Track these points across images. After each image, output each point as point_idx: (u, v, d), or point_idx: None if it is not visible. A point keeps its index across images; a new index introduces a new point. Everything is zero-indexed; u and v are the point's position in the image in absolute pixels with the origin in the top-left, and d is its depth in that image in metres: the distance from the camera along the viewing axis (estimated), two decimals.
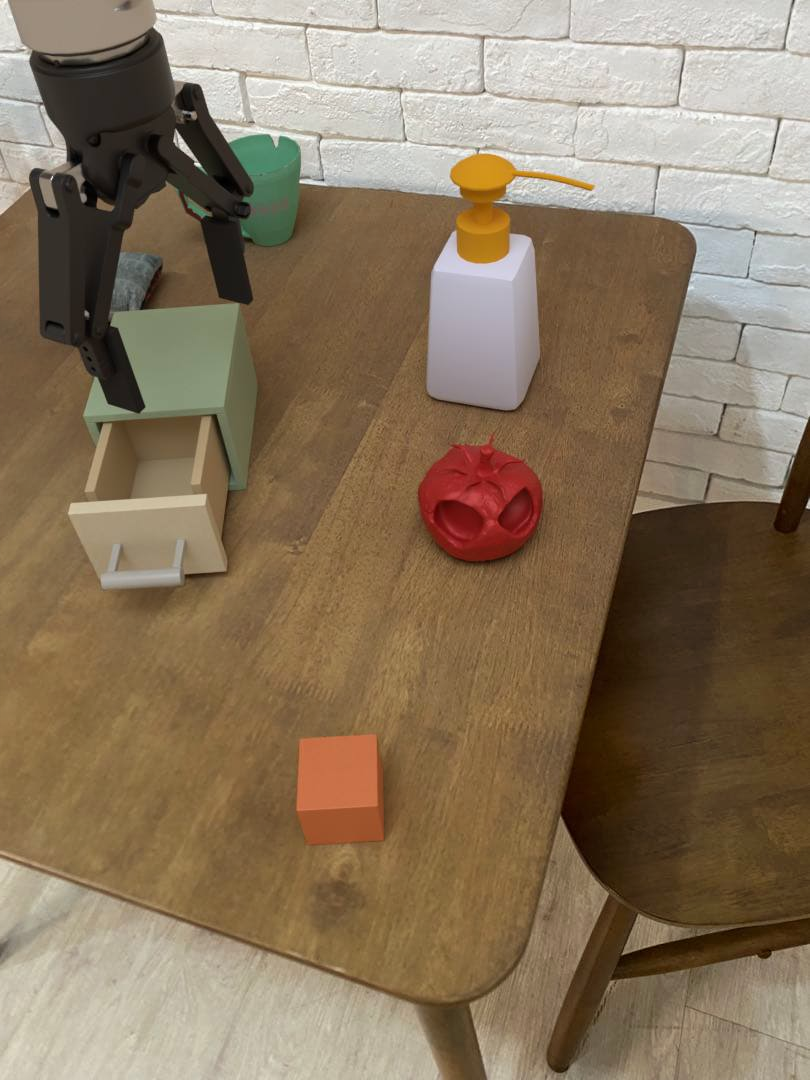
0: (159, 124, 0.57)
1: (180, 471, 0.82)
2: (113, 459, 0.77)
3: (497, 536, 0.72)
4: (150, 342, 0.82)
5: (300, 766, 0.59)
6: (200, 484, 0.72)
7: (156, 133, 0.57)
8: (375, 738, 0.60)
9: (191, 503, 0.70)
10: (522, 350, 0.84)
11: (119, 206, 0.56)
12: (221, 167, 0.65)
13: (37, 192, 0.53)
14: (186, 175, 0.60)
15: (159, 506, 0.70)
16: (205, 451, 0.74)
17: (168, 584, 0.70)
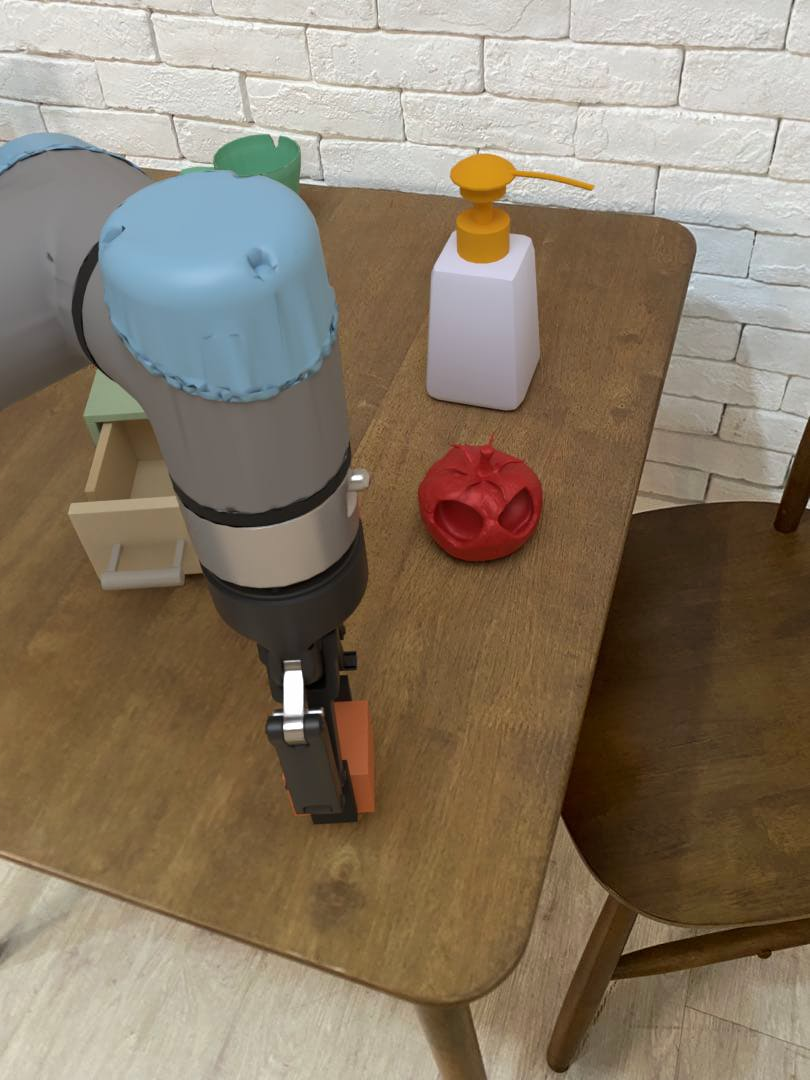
0: None
1: None
2: (113, 459, 0.77)
3: (497, 536, 0.72)
4: None
5: None
6: None
7: None
8: (366, 704, 0.57)
9: None
10: (522, 350, 0.84)
11: (334, 682, 0.47)
12: None
13: (280, 743, 0.43)
14: (340, 626, 0.50)
15: (159, 506, 0.70)
16: None
17: (168, 584, 0.70)
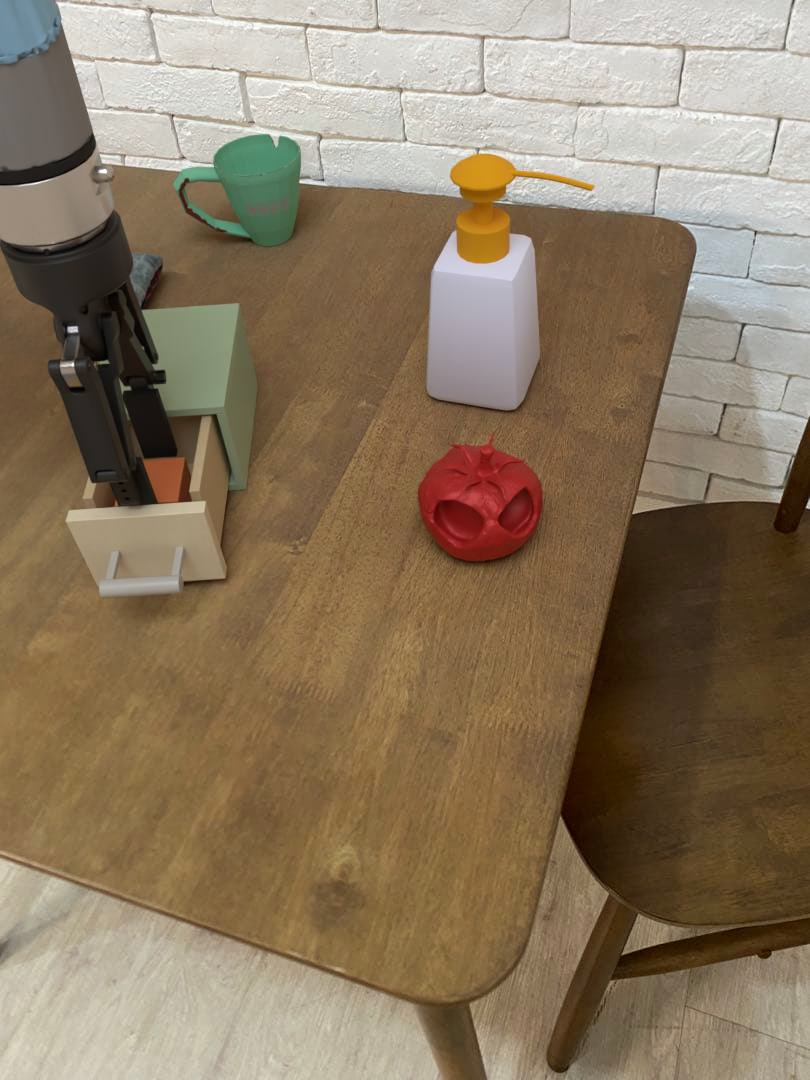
0: None
1: None
2: None
3: (497, 536, 0.72)
4: None
5: None
6: (199, 491, 0.71)
7: None
8: (183, 459, 0.76)
9: (190, 510, 0.69)
10: (522, 350, 0.84)
11: (114, 361, 0.63)
12: (137, 333, 0.71)
13: (59, 381, 0.59)
14: (132, 331, 0.66)
15: (158, 513, 0.70)
16: (204, 457, 0.74)
17: (167, 592, 0.70)
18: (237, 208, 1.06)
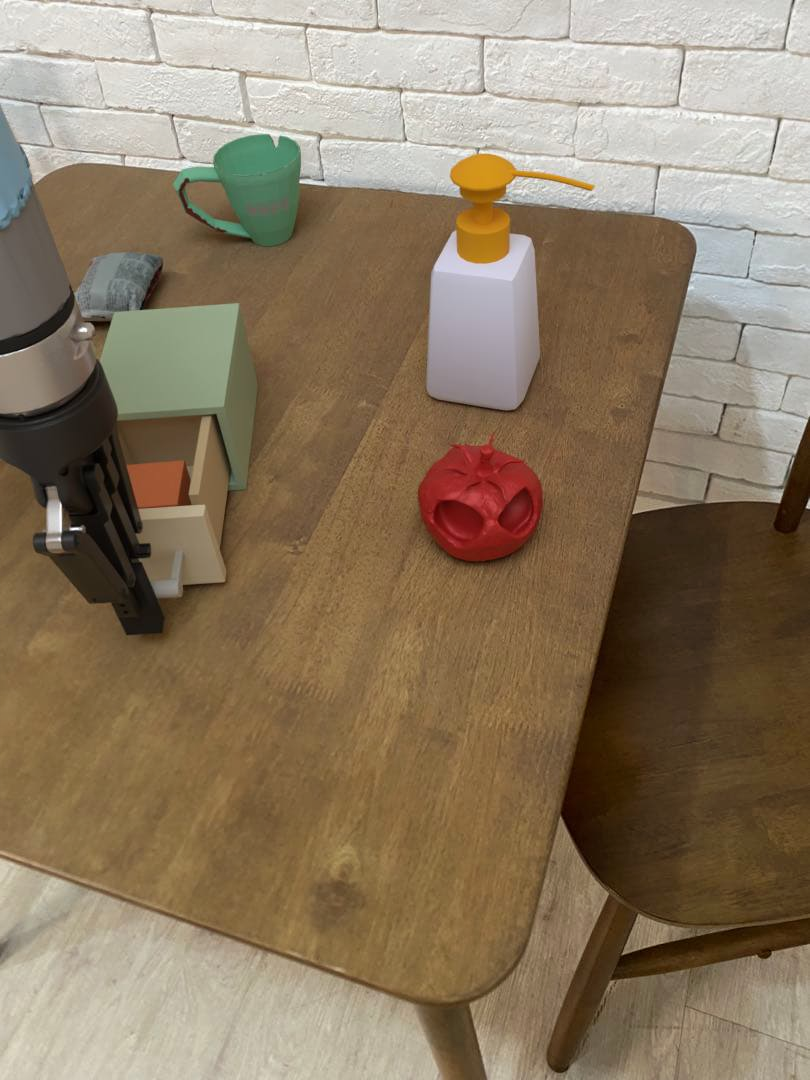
0: None
1: None
2: None
3: (497, 536, 0.72)
4: (150, 342, 0.82)
5: None
6: (198, 494, 0.71)
7: None
8: (182, 463, 0.76)
9: (190, 513, 0.69)
10: (522, 350, 0.84)
11: (103, 509, 0.59)
12: (120, 495, 0.65)
13: (47, 553, 0.55)
14: (115, 485, 0.61)
15: (157, 517, 0.69)
16: (203, 461, 0.73)
17: (166, 596, 0.69)
18: (237, 208, 1.06)
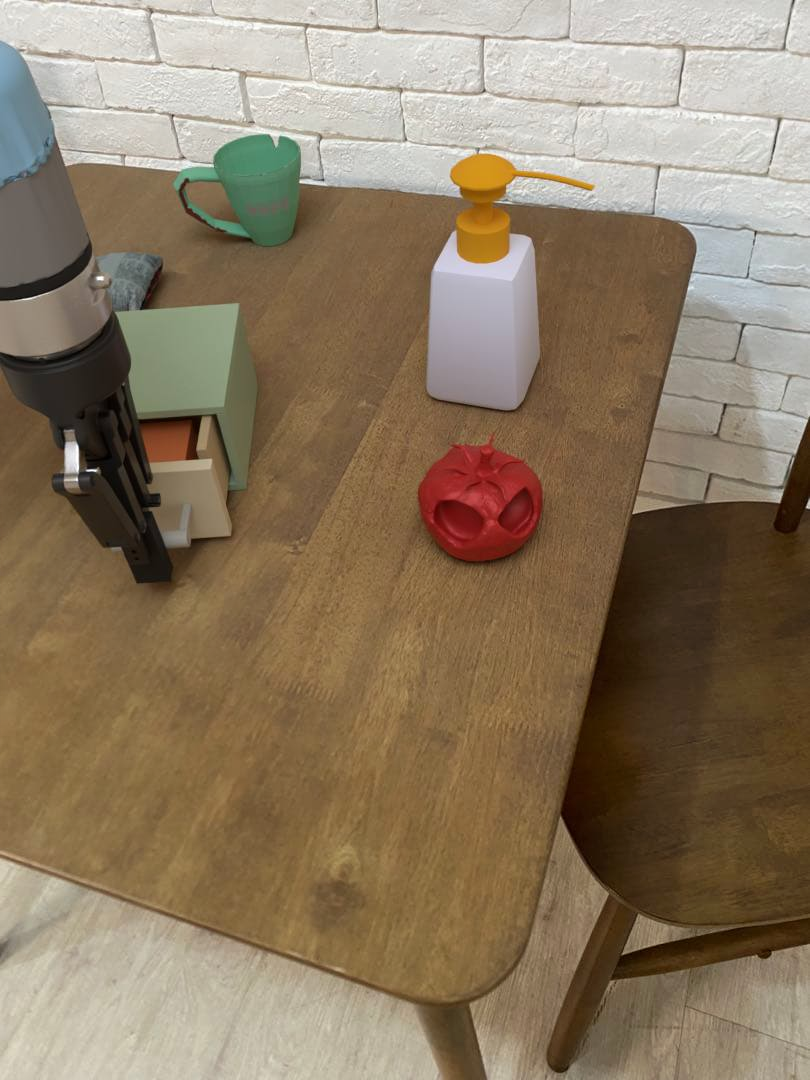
0: None
1: None
2: None
3: (497, 536, 0.72)
4: (150, 342, 0.82)
5: None
6: (205, 450, 0.74)
7: None
8: (190, 422, 0.79)
9: (197, 467, 0.73)
10: (522, 350, 0.84)
11: (117, 455, 0.62)
12: (131, 446, 0.68)
13: (65, 493, 0.59)
14: (127, 434, 0.64)
15: (166, 470, 0.73)
16: (210, 419, 0.77)
17: (175, 546, 0.73)
18: (237, 208, 1.06)
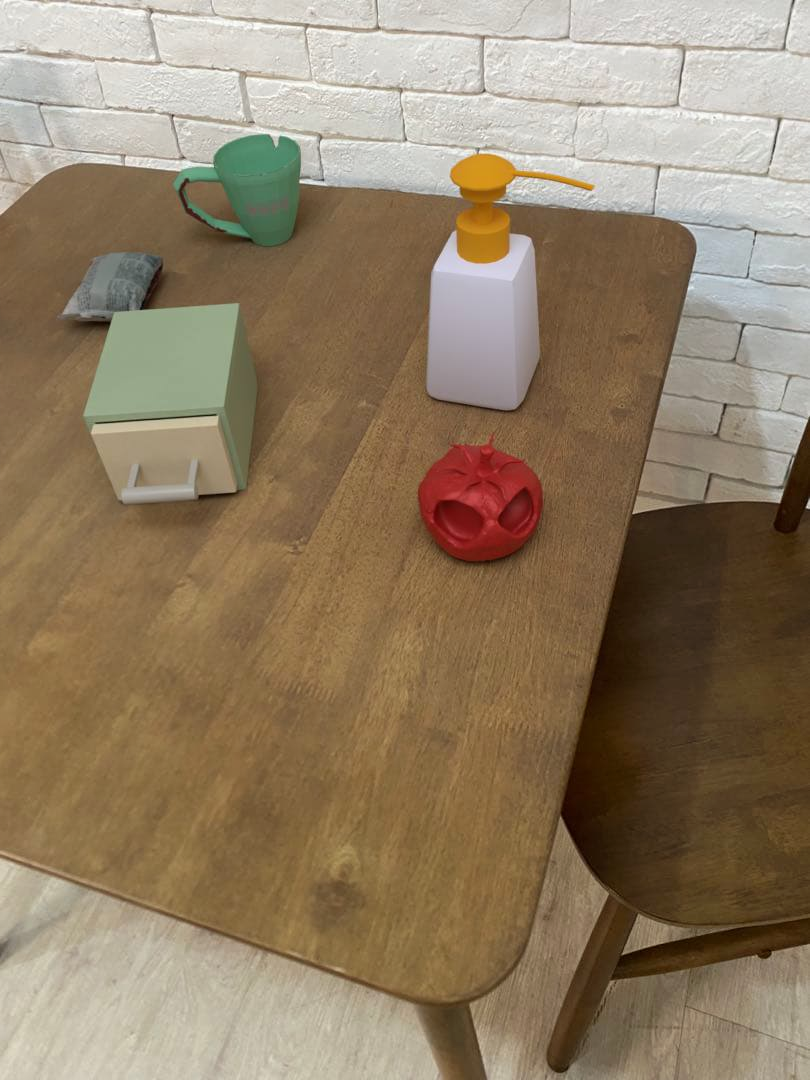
0: None
1: None
2: None
3: (497, 536, 0.72)
4: (150, 342, 0.82)
5: None
6: None
7: None
8: None
9: (205, 423, 0.76)
10: (522, 350, 0.84)
11: None
12: None
13: None
14: None
15: (175, 426, 0.76)
16: None
17: (183, 498, 0.76)
18: (237, 208, 1.06)
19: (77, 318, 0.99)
